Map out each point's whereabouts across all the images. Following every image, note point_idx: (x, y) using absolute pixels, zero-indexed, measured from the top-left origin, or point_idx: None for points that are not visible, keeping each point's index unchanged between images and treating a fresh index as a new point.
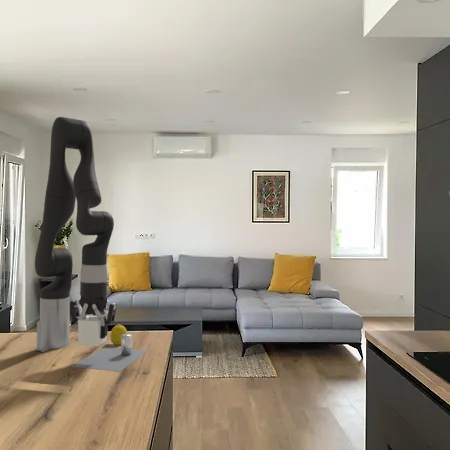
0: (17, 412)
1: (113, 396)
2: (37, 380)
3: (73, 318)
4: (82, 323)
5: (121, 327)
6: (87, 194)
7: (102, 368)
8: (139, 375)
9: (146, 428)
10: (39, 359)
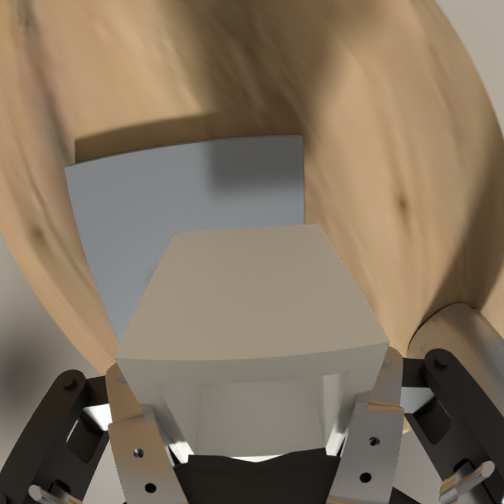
0: None
1: (21, 13)
2: (358, 17)
3: (446, 367)
4: (323, 324)
5: None
6: None
7: (142, 167)
8: (35, 205)
9: None
10: (459, 246)
